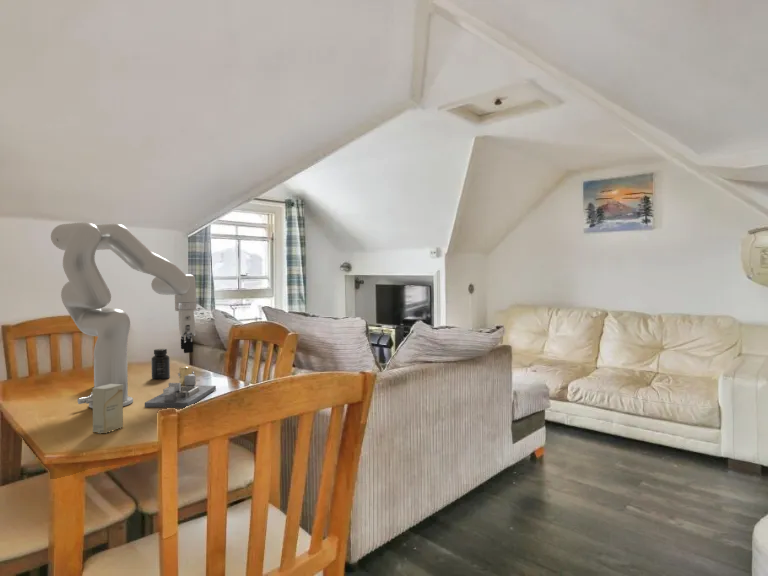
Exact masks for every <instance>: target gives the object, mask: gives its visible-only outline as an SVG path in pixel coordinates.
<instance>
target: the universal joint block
mask: <svg viewBox="0 0 768 576" xmlns="http://www.w3.org/2000/svg"><path fill="white" fill-rule="evenodd" d="M189 374H194V375H196V374H195V371H193V366H187V365H186V366H181V367H179V372H178V373H177V375H178V376H177V377H179V383H181V385H184V386H186V385H185V376H188V375H189Z"/></svg>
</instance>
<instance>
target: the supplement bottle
mask: <svg viewBox="0 0 768 576" xmlns="http://www.w3.org/2000/svg"><path fill="white" fill-rule="evenodd" d="M153 355H154V356H152V357H151V363H150V364H151V379H152V380H154V379H161V380H167V379H169V378H170V376H171V374H170V373H171V366H170V364H171V363H170V358H171V357H170V356H169V355H168V349H167V348H156V349H153Z"/></svg>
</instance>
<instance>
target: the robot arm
mask: <svg viewBox="0 0 768 576" xmlns="http://www.w3.org/2000/svg"><path fill="white" fill-rule="evenodd" d="M50 240H51V242H52V244H53V245H54V246H55V247H56V248H57V249H60V250H62V251H64V253H63V257H62V268H63V272H64V273H65V275H66V278H67V279H68V282H66V283H65V284H64V285H63V286H62V288H61V292H60V297H61V301H62V303H63V305H64V307H65V309H66V311H67V312H68V315H70V317H71V319H72V320H73V322H74V324H75V325H76V327H77V329H78V330H79V331H80V332H81V333H83V334H85V335H87V336H92V337H97V338H96V341H95V344H94V349H93V388H96V387H100V386H104V385H108V384H122V385H123V407H125V406H128V405H130V404H132V403H133V402H134V397H132V396H129V395H128V394H129V393H128V392H129V391H128V390H129V388H128V387H129V385H128V377H129V376H128V374H129V373H128V339H129V335H130V334H129V333H130V328H131V319H130V317H129V315H128V314H127V313H126V312H125V311H124V310H122V309H119V308H116V307H115V308H113V307H107V306H108V305H109V304H110V302H111V301H112V293H111V291H110V289H109V287H108V284H107V283H106V282H105V279H104V278H103V276H102V274H101V272H100V270H99V267H97V264H96V260H95V259H96V258H95V257H96V251H98V250H102V251H103V250H110V251H112V252H113V253H114V254H115V255H116V256H118V258H120V259H121V260H122V261H124V263H125V264H126V265H128V266H129V267H130V268H131V269H133V270H135V271H137V272H141V273H143V274H146V275H151V276H153V277H154V278H153V279H152V281H151V288H152V290H153V292H155V293H156V294H159V295H165V296H168V295H169V296H172V295H173V296H174V308H175V309H174V311H175V312H178V327H179V328H178V329H179V336H180V349H181V350H183V353H184V354H190V353H193V352H194V342H193V337H195V336H196V323H195V312H194V311H196V310H197V292H196V289H197V288H196V277H195V276H194V275H193V274H185V273H184V271H182V270H181V269H180V268H179V267H178V266H177V265H176V264H175V263H173V262H172V261H169V260H168V259H166V258H164V257H162V256H161V255H159V254H157V253H155V252H153V251H152V250H150V249H149V248H148V247H147V246H146V245H145V244H144V243H143V242H142V241H141V240H140V239H139V238H138V237H137V236H136V235H135V234H133V233H132V231H131V230H129V228H127V227H126V226H125V225H123V224H119V223H105V224H103V223H102V224H94V223H91V222H84V221H83V222H72V223H71V222H70V223H62V224H59V225H57V226H55V227H54V228H53V229H52V230H51V233H50ZM77 404H78V405H81V404H83V405H84V404H87V405H88V407H89V408H90V409H93V391H91V392H90V394H89V395H88V396H82V397H79V398H77Z"/></svg>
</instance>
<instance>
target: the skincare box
mask: <svg viewBox="0 0 768 576" xmlns="http://www.w3.org/2000/svg"><path fill="white" fill-rule="evenodd" d="M92 392H93V408H92V433H93V432H98V433H97V434H101V433H106V434H108V433H107V432H109V431H112V430H115V429H118V428H120V429H122V428H121V427H123V428H124V406H123V385H122V384H108V385H104V386H100V387H96V388H94V387H92ZM118 430H119V429H118ZM115 431H116V430H115ZM112 432H113V431H112ZM109 433H110V432H109Z"/></svg>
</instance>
